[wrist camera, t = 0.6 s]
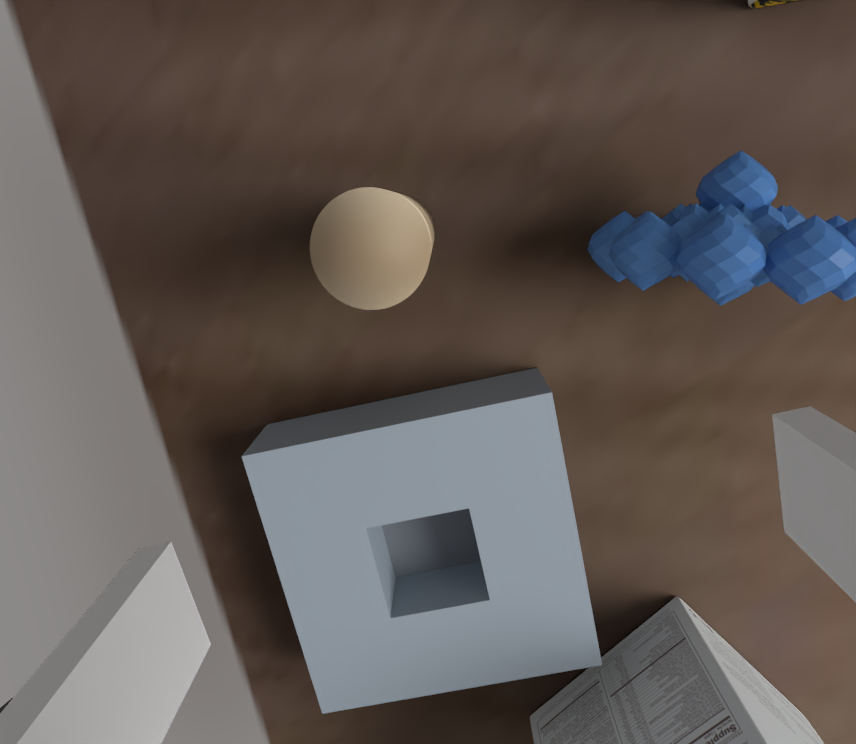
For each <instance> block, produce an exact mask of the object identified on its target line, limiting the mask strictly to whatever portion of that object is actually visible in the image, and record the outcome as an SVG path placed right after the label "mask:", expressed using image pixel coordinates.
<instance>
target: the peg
mask: <svg viewBox="0 0 856 744" xmlns="http://www.w3.org/2000/svg"><path fill="white" fill-rule="evenodd" d="M434 238H435V227H434V222H433V219H432V217H431V215H430V213H429V211H428V210H427V209H426V207H425V206H424V205H423V204H422V203H420V202H419V201H418V200H416V199H414V198H412V197H410V196H406V195H403V194H399V193H396V192H392V191H389V190H385V189H381V188H374V187H363V188H357V189H353V190H349V191H347V192H345V193H342V194H340V195H339V196H337V197H336V198H334V199H333V200H332V201H330V202H329V203H328V204H327V205H326V206H325V207H324V209H323V210H322V211H321V213H320V214H319V216H318V217H317V219H316V221H315V223H314V226H313V229H312V233H311V238H310V256H311V261H312V265H313V268H314V271H315V273H316V275H317V277H318V279H319V281H320V282H321V284H322V285H323V286H324V287H325V289H326V290H327V291H328V292H329V293H330V294H331V295H332V296H334V297H335V298H336V299H338V300H339V301H341V302H343V303H345V304H347V305H349V306H352V307H355V308H359V309H365V310H378V309H384V308H388V307H391V306H394V305H396V304H398V303H400V302H402V301H403V300H405V299H406V298H407V297H409V296H410V295H411V294H412V293H413V292H414V291H415V290H416V289H417V287H418V286H419V285H420V283H421V282H422V280H423V278H424V276H425V274H426V271H427V269H428V265H429V261H430V256H431V252H432V248H433V243H434Z"/></svg>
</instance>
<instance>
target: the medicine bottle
mask: <svg viewBox="0 0 856 744" xmlns="http://www.w3.org/2000/svg"><path fill="white" fill-rule="evenodd" d="M793 1H799V0H748V5H749V6H750V7H751V8H760V7H766V6H771V5H777V4H782V3H788V2H793Z"/></svg>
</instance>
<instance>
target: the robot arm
mask: <svg viewBox="0 0 856 744" xmlns="http://www.w3.org/2000/svg"><path fill="white" fill-rule="evenodd" d="M772 417H773V427H774V437H775V446H776V456H777V466H778V476H779V485H780V495H781V505H782V514H783V524H784V532H785V533H786V534H787V535H788V536H789V537H790V538H791V539H792V540H793V541H794V542H795V543H796V544H797V545H798V546H799V547H800V548H801V549H802V550H803V551H804V552H805V553H806V554H807V555H808V556H809V557H810V558H811V559H812V560H813V561H814V562H815V563H816V564H817V565H818V566H819V567H820V568H821V569H822V570H823V571H824V572H825V573H826V574H827V575H828V576H829V577H830V578H831V579H832V580H833V581H834V582H836V583H837V584H838V585H839V586H840V587H841V588H842V589H843V590H844V591H845V592H846V593H847V594H848V595H849V596H850V597H851V598H852V599H853V600H854V601H855V602H856V433H855V432H853V431H851V430H850V429H848V428H846V427H845V426H843V425H841V424H839V423H838V422H836V421H834V420H833V419H831V418H829V417H827V416H826V415H824V414H822V413H821V412H819V411H817V410H816V409H814V408H812V407H805V408H800V409H796V410H791V411H786V412H781V413H777V414H772ZM210 645H211V643H210V641H209V638H208V636H207V633H206V631H205V628H204V625H203V623H202V621H201V618H200V615H199V612H198V610H197V608H196V605H195V602H194V600H193V597H192V594H191V592H190V589H189V587H188V584H187V582H186V579H185V576H184V574H183V571H182V568H181V566H180V564H179V561H178V558H177V556H176V553H175V550H174V548H173V545H172V543H171V542H167V543H162V544H157V545H153V546H148V547H143V548H139V549H138V550H137V551H136V552H135V553H134V555H133V556H132V557H131V558H130V559H129V561H128V562H127V563H126V564H125V565H124V567H123V568H122V569H121V570H120V571H119V572H118V574H117V575H116V576H115V577H114V578H113V580H112V581H111V582H110V583H109V584H108V586H107V587H106V588H105V589H104V590H103V592H102V593H101V594H100V595H99V596H98V598H97V599H96V600H95V601H94V603H92V605H91V606H90V607H89V608H88V609H87V611H86V612H85V613H84V614H83V615H82V617H81V618H80V619H79V620H78V622H77V623H76V624H75V625H74V626H73V627H72V629H71V630H70V631H69V632H68V633H67V634H66V636H65V637H64V638H63V639H62V640H61V642H60V643H59V644H58V645H57V647H56V648H55V649H54V650H53V651H52V652H51V654H50V655H49V656H48V657H47V658H46V660H45V661H44V662H43V663H42V664H41V665H40V667H39V668H38V669H37V670H36V671H35V673H34V674H33V675H32V676H31V678H30V679H29V680H28V681H27V682H26V684H25V685H24V686H23V687H22V688H21V689H20V691H19V692H18V693H17V694H16V695H15V696H14V698H12V699H11V700H9V701H8V702H7V703H6V704H4V705H3V706H2V707H1V708H0V744H161V743H162V741H163V739H164V737H165V735H166V733H167V731H168V729H169V727H170V725H171V723H172V721H173V719H174V717H175V715H176V713H177V711H178V709H179V707H180V705H181V703H182V701H183V699H184V697H185V695H186V693H187V691H188V689H189V687H190V685H191V683H192V681H193V679H194V677H195V675H196V673H197V671H198V669H199V667H200V665H201V663H202V661H203V659H204V657H205V655H206V653H207V651H208V649H209V647H210Z"/></svg>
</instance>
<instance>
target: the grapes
mask: <svg viewBox="0 0 856 744" xmlns="http://www.w3.org/2000/svg"><path fill="white" fill-rule="evenodd" d="M777 189H778V186H777V184H776V181H775V178H774V177H773V176H772V174H771V173H770V172H769V171H768V170H767V169H766V168H765V167H763V166H762V165H761V164H760V163H758V162H757V161H756V160H755V159H753V158H752V157H750V156H749V155H747V154H746V153H744V152H743V151H739V152H738V153H736V154H734V155H733V156H731V157H729V158H728V159H726V160H725V161H723V162H722V163H721V164H719V165H718V166H717V167H715V168H714V169H713V170H711V171H710V172H709V173H708V174H706V175H705V176H704V177H703V178H702V180H701V182H700V184H699V186H698V189H697V192H696V196H697V198H698V200H699V202H700V204H699V205H698V204H697V203H696V204H694V205H692V204H690V205H688V206H686V207H684V206H683V205H682V203H681V204H680V205H679V206H677V207H676V208H675V209H673V210H672V211H670V212H669V213H668V214H667V215H665V216H664V217H663V218H662V219H660V218H659V217H658V216H656V215H655V214H654V213H652V212H648V211H646V212H645V213H643V214H641V215H640V216H638V217H636V218H634V217H632V216H631V215H630V214H629V213H627V212H626V211H624V212H622V213H620V214H619V215H617V216H615V217H614V218H612V219H611V220H610V221H608V222H607V223H606V224H605V225H603V226H602V227H601V228H600V229H598V230H597V231H596V232H594V233H593V234H592V237H591V240H590V242H589V246H588V249H587V250H588V252H589V253H590V255H591V257H592V259H593V260H594V261H595V263H596V264H597V265H598V266H599V267H600V268H601V269H602V270H603V271H604V272H606V273H607V274H608V275H609V276H611V277H612V278H613V279H614V280H616V281H617V282H620V281H622V280H624V279H625V278H627V279H629V280H630V281H631V282H632V283H633V284H635V285H636V286H637V287H639V288H640V289H641V290H642V291H643V290H645V289H647V288H649V287H651V286H653V285H654V284H656V283H658V282H660V281H661V280H663V279H664V278H666V277H668V276H669V275H670V276H671V277H672V278H674V277H676V276H678V275H679V276H681V277H682V278H683V279H684V280H686V281H689V280H690V281H692V282H693V283H694V284H695V285H696V286H697V287H698V288H699V289H700V290H701V291H702V292H704V293H705V294H706V295H707V296H709V297H710V298H711V299H712V300H714V301H715V302H716V303H718V304H719V305H720V306H721V305H723V304H725V303H727V302H729V301H731V300H733V299H735V298H737V297H739V296H741V295H743V294H745V293H747V292H748V291H750V290H751V289H752V288H753V287H754V286H757V287H758V286H760V285H762V284H765V283H767V282H769V281H770V282H773V284H775V285H776V286H777V287H779V288H780V289H781V290H782V291H784V292H785V293H786V294H787V295H789V296H790V297H791V298H793V299H794V300H795V301H797V302H798V303H799V304H803V303H805V302H808V301H810V300H812V299H814V298H816V297H818V296H821V295H823V294H825V293H827V292H829V291H831V292H832V293H834V294H835V295H837V296H838V297H839V298H841V299H842V300H843V301H846V300H848V299H851V298H853V297H855V296H856V218H855V219H853V220H851V221H849V222H847V221H846V220H844V219H843V218H841V217H840V216H838V215H837V216H835V217H833V218H831V219H829V220H827V221H824V220H822V219H821V218H819V217H818V216H816V215H815V216H813V217H811V218H809V219H806V218H805V217H804V216H803V215H802V214H801V213H799V212H798V211H797V210H796V209H794V208H793V207H792V206H791V205H789V206H788V207H787V208H786V207H785V206H783V205H782V206H781V207H779V208H777V209H775V208H774V207H773V206H771V205H770V204H771V203H772V201H773V200H774V198H775V197H776V195H777Z"/></svg>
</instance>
